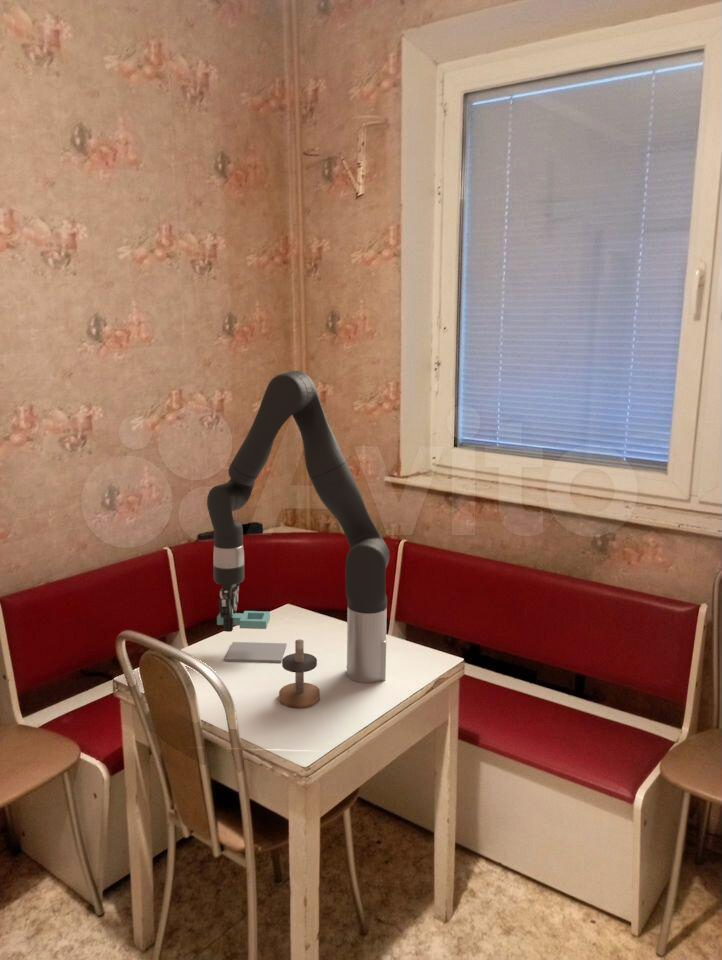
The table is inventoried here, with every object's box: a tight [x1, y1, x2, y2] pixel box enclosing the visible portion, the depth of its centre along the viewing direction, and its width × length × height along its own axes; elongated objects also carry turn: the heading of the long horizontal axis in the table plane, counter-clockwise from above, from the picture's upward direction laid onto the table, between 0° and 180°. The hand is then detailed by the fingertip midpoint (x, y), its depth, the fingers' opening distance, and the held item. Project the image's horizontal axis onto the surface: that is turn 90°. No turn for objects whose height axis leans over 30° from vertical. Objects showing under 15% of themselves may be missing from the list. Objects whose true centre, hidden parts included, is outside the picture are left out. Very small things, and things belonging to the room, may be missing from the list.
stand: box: [278, 639, 321, 710], centre depth 155 cm, size 9×9×14 cm
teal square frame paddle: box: [216, 610, 271, 630], centre depth 177 cm, size 12×6×2 cm, turn 89°
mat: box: [224, 641, 287, 664], centre depth 179 cm, size 14×10×1 cm
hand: (229, 627), depth 178 cm, fingers closed on teal square frame paddle, 3 cm apart
